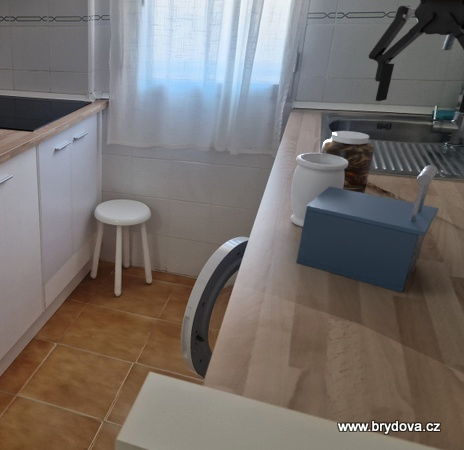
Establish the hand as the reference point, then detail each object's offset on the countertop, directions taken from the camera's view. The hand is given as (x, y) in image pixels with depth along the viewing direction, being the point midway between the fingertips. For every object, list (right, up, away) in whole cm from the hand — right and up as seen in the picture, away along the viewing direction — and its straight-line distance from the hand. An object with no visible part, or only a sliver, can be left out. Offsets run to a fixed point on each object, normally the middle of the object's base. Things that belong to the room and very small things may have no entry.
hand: (420, 105), depth 96 cm
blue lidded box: (-7, -29, +8) cm, 31 cm away
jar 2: (+9, -12, +46) cm, 48 cm away
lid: (-7, -19, +3) cm, 20 cm away
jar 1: (-8, -21, +26) cm, 35 cm away
